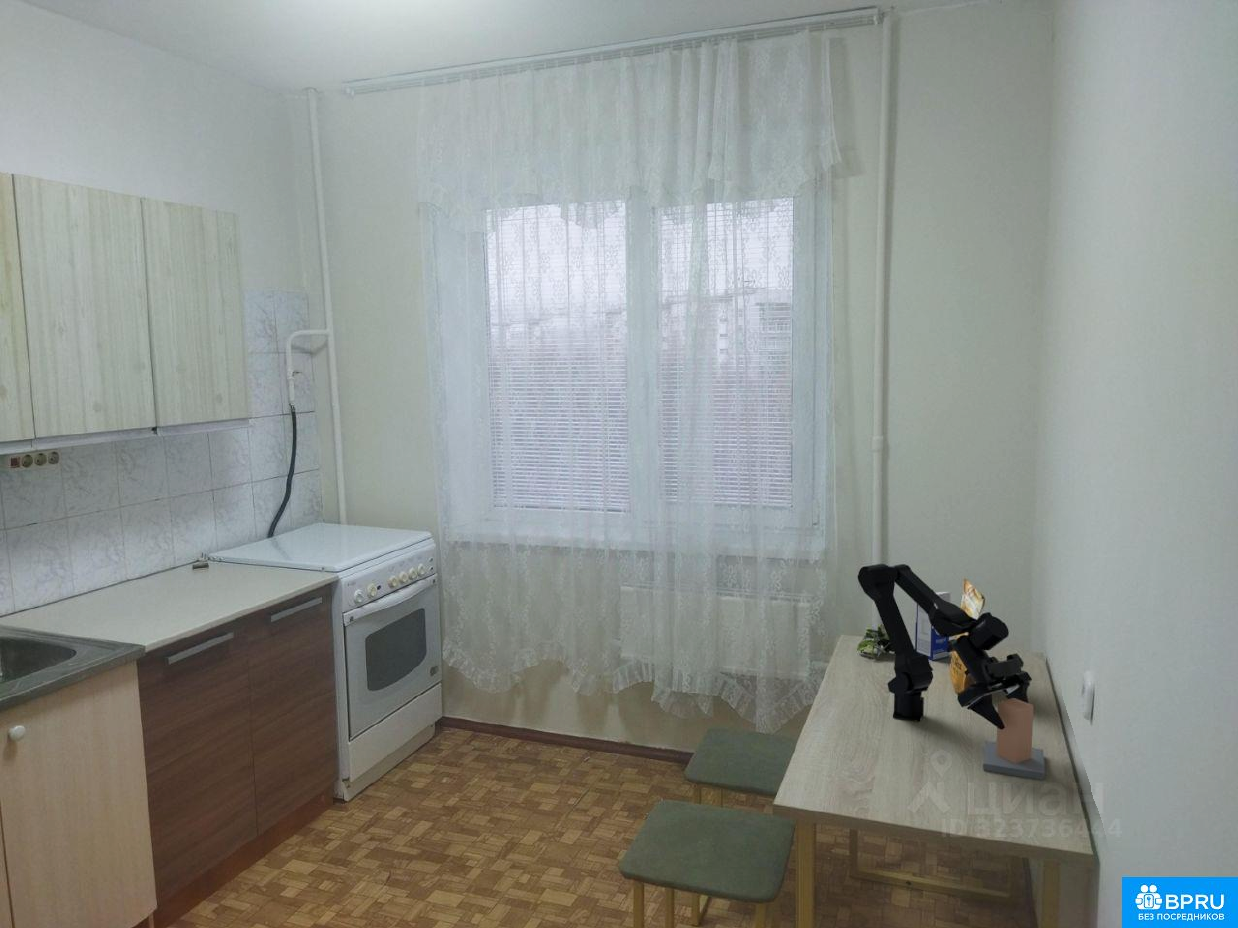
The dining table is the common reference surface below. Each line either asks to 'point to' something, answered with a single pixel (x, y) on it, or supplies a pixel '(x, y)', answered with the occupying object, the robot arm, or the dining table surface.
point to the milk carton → (930, 634)
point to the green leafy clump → (876, 641)
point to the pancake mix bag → (973, 607)
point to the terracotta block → (1015, 730)
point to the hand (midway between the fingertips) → (1017, 724)
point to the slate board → (1024, 768)
